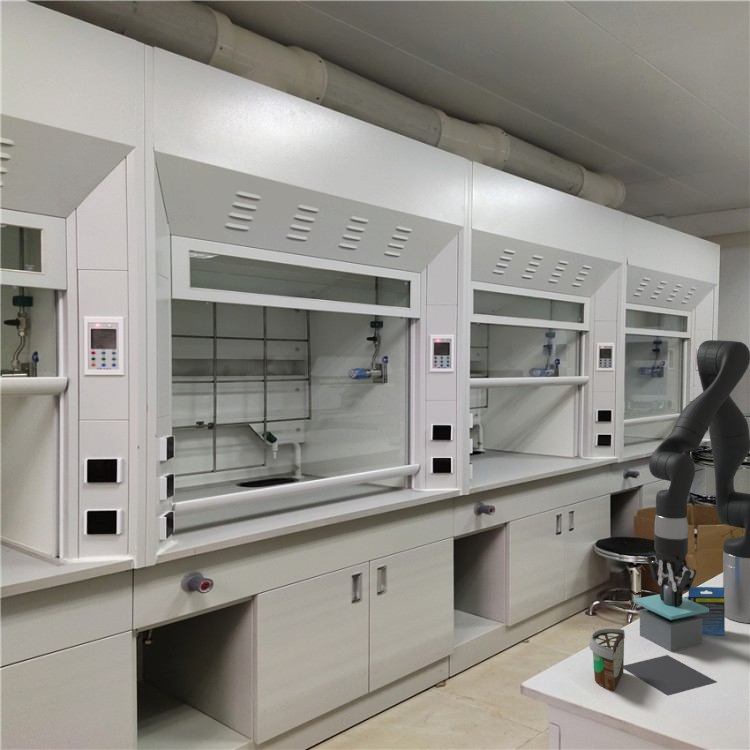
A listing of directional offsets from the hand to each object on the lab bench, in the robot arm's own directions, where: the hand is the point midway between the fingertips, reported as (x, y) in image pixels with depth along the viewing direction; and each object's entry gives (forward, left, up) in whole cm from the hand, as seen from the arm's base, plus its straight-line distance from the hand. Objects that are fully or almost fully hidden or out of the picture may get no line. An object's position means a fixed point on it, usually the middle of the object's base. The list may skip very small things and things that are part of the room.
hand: (670, 602), depth 169 cm
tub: (0, 0, -10) cm, 10 cm away
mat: (+14, +13, -10) cm, 21 cm away
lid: (0, 0, -1) cm, 1 cm away
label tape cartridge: (-12, -1, -10) cm, 16 cm away
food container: (+28, +9, -10) cm, 31 cm away
